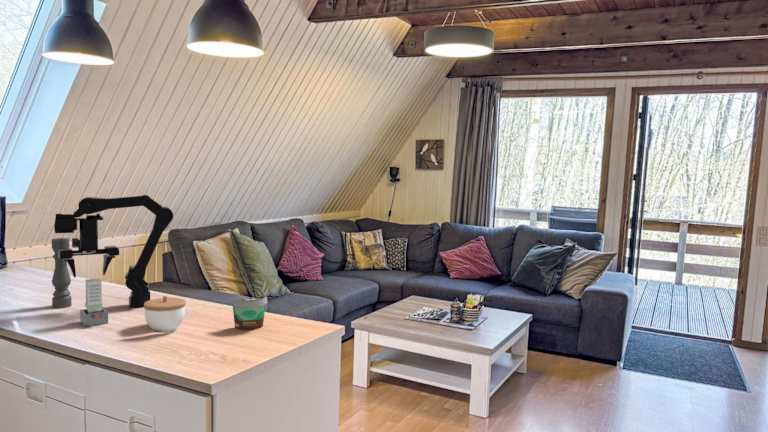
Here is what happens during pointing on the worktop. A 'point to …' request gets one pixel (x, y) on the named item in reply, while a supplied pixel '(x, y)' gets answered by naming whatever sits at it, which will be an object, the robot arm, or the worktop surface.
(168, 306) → the lidded bowl
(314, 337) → the worktop surface
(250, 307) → the food container
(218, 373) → the worktop surface
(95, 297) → the grey tall block
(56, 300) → the candle holder
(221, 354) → the worktop surface
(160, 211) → the robot arm
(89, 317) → the stand base
